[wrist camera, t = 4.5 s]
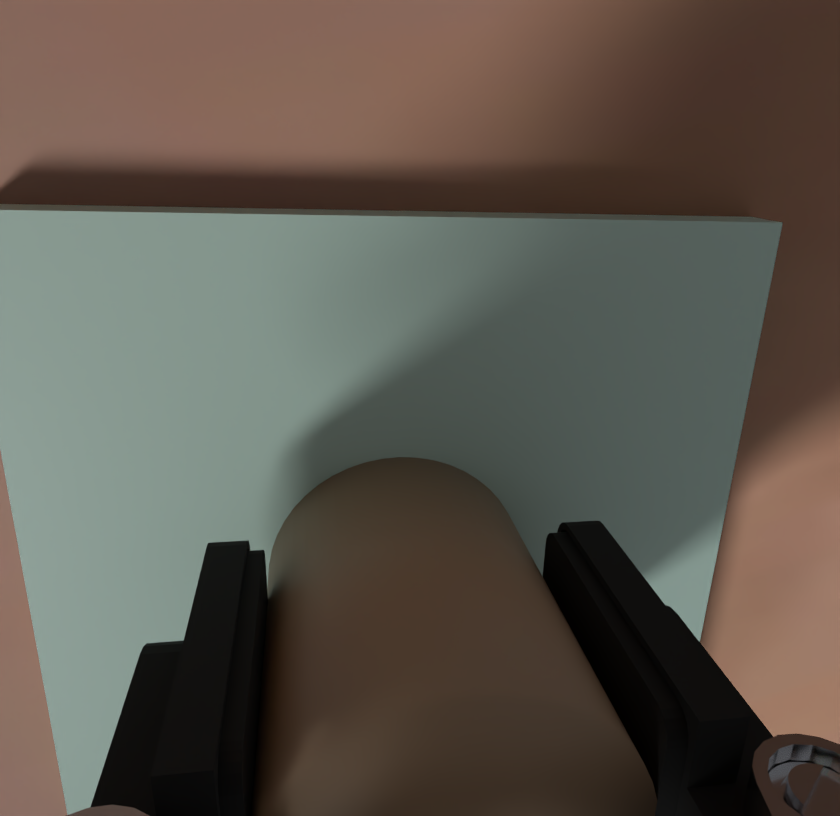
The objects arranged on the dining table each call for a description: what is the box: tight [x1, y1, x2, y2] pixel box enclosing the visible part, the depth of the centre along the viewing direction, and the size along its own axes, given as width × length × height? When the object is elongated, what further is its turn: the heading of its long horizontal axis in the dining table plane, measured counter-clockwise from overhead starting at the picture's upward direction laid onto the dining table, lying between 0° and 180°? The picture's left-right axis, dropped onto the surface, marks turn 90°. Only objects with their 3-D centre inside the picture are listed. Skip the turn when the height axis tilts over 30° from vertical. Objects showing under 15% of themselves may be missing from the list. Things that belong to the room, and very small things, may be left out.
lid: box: [0, 204, 783, 816], centre depth 10 cm, size 11×11×6 cm
